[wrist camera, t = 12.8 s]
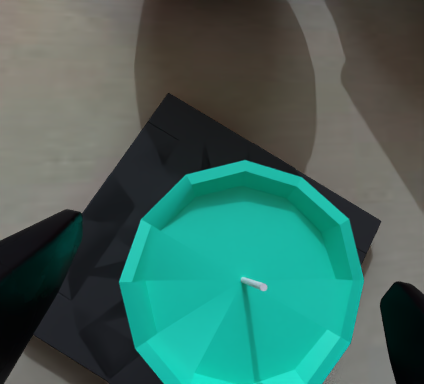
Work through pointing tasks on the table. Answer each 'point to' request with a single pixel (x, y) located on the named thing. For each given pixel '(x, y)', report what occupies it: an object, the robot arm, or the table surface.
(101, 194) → the candle pad
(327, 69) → the table surface
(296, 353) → the candle
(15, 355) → the robot arm
